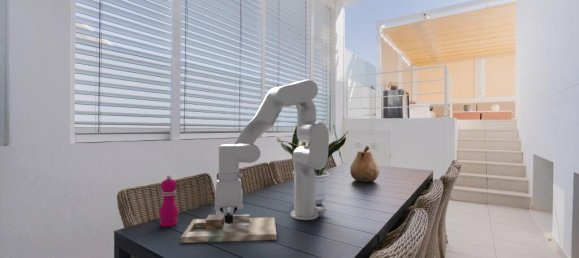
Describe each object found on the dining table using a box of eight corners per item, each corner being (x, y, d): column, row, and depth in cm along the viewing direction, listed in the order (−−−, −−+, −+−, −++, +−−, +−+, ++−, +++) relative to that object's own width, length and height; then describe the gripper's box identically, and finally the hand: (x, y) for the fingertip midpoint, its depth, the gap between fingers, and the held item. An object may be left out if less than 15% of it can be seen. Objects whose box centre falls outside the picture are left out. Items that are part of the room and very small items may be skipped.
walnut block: (224, 223, 111) (224, 214, 111) (222, 228, 105) (222, 219, 105) (208, 223, 110) (208, 214, 110) (205, 229, 104) (205, 220, 104)
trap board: (274, 222, 118) (274, 211, 118) (276, 239, 100) (276, 227, 100) (193, 224, 115) (193, 213, 115) (180, 242, 97) (180, 229, 97)
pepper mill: (162, 221, 118) (163, 173, 118) (180, 220, 119) (180, 173, 118) (156, 227, 111) (156, 176, 111) (175, 227, 112) (175, 176, 111)
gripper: (249, 174, 112) (248, 220, 112) (210, 175, 110) (210, 221, 110) (248, 178, 104) (248, 227, 104) (206, 179, 103) (206, 228, 103)
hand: (228, 224), depth 107 cm, fingers closed
